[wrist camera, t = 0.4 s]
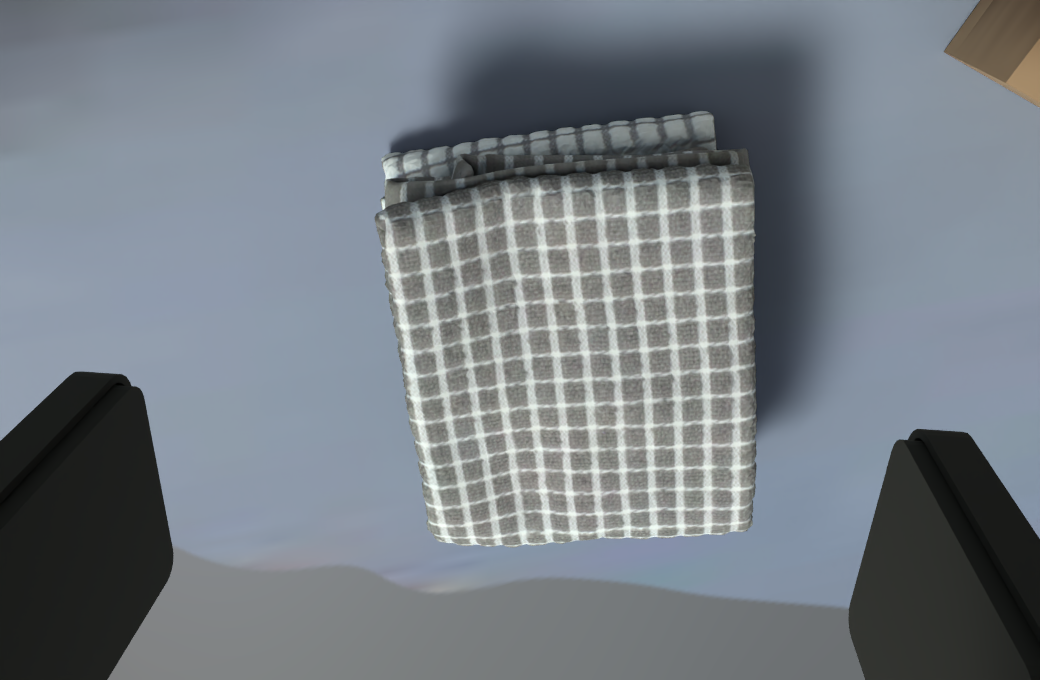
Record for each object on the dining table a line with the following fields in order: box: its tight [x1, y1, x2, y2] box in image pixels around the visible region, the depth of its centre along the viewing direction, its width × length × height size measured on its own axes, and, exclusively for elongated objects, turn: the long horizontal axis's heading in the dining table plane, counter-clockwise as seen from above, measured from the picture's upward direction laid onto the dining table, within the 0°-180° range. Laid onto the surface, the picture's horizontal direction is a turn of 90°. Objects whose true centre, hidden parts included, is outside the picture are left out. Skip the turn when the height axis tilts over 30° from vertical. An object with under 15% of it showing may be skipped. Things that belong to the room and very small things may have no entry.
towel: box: [375, 111, 757, 547], centre depth 38 cm, size 15×18×8 cm
